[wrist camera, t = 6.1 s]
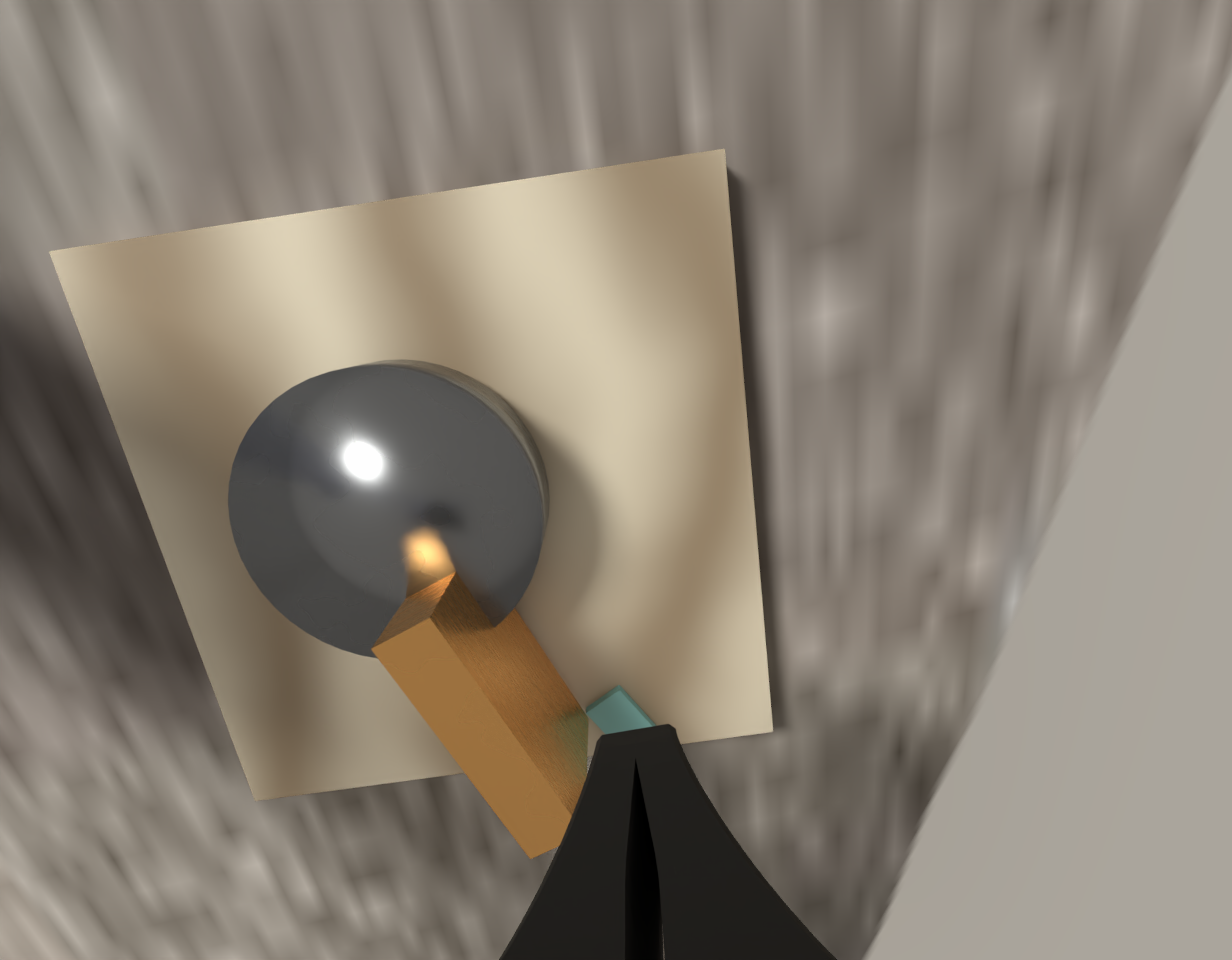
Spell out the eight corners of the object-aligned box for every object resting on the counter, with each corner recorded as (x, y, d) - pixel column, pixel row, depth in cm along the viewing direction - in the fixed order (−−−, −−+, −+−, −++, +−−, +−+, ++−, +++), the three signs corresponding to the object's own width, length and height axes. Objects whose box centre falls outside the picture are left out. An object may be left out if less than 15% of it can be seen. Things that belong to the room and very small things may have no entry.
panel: (270, 779, 22) (254, 801, 21) (80, 254, 17) (48, 251, 16) (765, 712, 21) (773, 731, 20) (717, 158, 17) (724, 148, 16)
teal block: (585, 707, 20) (585, 713, 20) (619, 684, 20) (619, 690, 20) (631, 756, 21) (632, 762, 20) (664, 734, 20) (665, 740, 20)
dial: (215, 446, 17) (76, 495, 13) (452, 305, 16) (395, 302, 12) (465, 775, 20) (425, 908, 16) (674, 671, 19) (696, 781, 15)
